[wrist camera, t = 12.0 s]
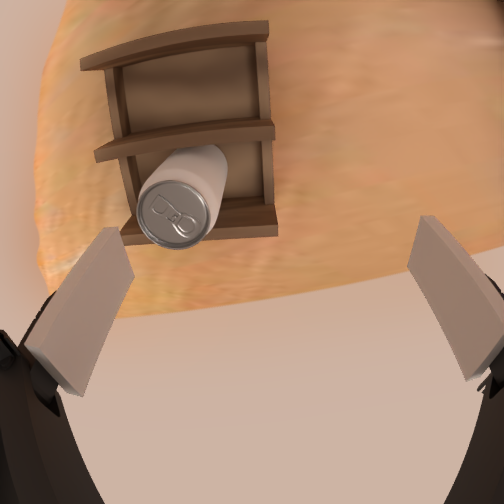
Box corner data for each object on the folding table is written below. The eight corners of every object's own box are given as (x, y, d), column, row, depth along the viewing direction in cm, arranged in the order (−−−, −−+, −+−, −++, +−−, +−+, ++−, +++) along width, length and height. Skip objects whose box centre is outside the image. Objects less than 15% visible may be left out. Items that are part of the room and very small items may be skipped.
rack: (117, 57, 23) (79, 55, 16) (263, 33, 22) (267, 16, 16) (144, 213, 34) (121, 249, 27) (272, 203, 34) (278, 240, 27)
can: (204, 205, 32) (183, 268, 22) (159, 172, 30) (117, 222, 20) (240, 164, 30) (235, 212, 20) (193, 127, 27) (160, 156, 17)
